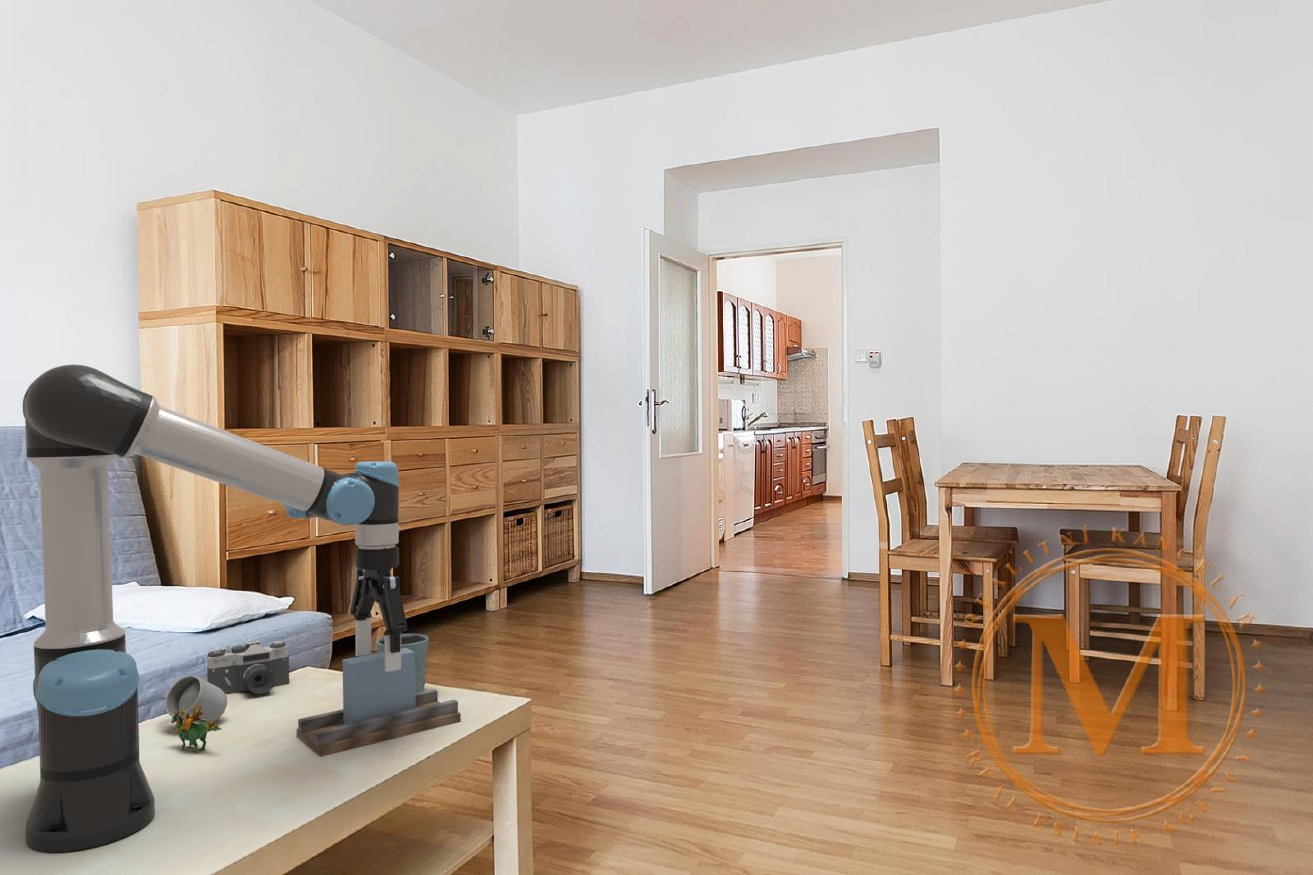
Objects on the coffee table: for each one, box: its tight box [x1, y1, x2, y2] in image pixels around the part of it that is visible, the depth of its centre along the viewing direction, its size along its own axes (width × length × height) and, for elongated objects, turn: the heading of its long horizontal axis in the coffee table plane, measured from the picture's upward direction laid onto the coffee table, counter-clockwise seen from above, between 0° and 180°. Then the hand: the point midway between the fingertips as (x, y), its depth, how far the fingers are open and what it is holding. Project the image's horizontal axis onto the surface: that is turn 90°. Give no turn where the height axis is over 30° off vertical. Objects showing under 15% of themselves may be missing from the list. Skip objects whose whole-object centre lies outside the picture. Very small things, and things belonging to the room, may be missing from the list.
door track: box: [296, 688, 462, 757], centre depth 160 cm, size 26×12×4 cm, turn 130°
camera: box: [206, 639, 290, 696], centre depth 182 cm, size 16×10×10 cm, turn 124°
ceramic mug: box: [162, 674, 228, 724], centre depth 163 cm, size 11×8×8 cm
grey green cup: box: [375, 633, 429, 693], centre depth 178 cm, size 10×10×12 cm
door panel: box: [342, 648, 416, 725], centre depth 160 cm, size 12×4×12 cm, turn 130°
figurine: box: [170, 705, 223, 754], centre depth 150 cm, size 3×12×8 cm, turn 67°
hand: (377, 662), depth 159 cm, fingers open, 13 cm apart
